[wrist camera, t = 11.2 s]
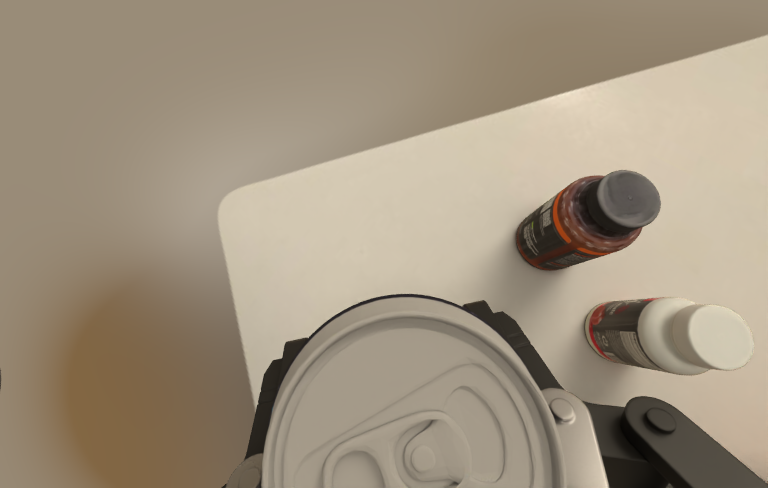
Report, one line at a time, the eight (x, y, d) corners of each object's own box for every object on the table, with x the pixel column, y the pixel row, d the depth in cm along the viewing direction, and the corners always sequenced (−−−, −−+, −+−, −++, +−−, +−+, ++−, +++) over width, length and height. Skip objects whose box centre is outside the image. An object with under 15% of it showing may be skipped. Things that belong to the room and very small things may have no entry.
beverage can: (466, 400, 16) (667, 602, 5) (362, 442, 16) (289, 780, 4) (425, 296, 17) (500, 244, 6) (328, 332, 17) (201, 353, 5)
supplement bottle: (587, 255, 31) (699, 219, 20) (534, 281, 30) (619, 260, 19) (553, 203, 32) (641, 142, 21) (502, 227, 31) (565, 178, 20)
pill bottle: (615, 290, 30) (722, 277, 20) (654, 341, 29) (787, 352, 19) (570, 321, 29) (659, 322, 20) (609, 374, 28) (722, 402, 19)
